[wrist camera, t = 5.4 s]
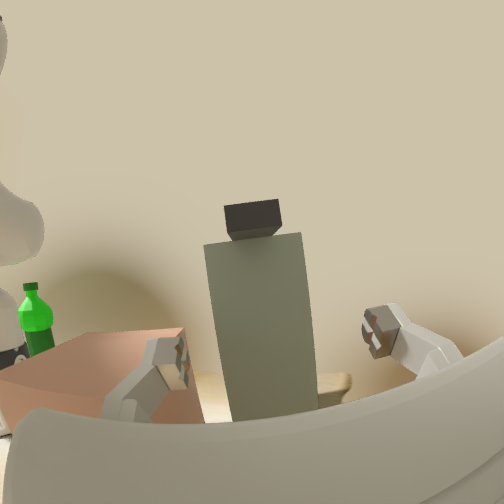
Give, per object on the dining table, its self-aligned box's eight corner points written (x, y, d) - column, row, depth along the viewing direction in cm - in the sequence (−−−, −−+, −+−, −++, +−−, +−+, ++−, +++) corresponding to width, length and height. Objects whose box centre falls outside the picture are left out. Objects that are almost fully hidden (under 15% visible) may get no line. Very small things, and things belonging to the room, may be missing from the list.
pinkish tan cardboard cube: (81, 533, 10) (-13, 375, 10) (128, 456, 26) (87, 332, 26) (201, 560, 10) (115, 399, 10) (215, 460, 26) (184, 327, 26)
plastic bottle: (54, 371, 55) (35, 282, 56) (75, 377, 52) (54, 280, 53) (28, 381, 45) (7, 285, 46) (48, 390, 43) (23, 283, 43)
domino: (227, 232, 20) (223, 204, 20) (237, 247, 42) (235, 234, 42) (282, 225, 20) (278, 197, 20) (263, 244, 42) (261, 230, 42)
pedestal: (240, 454, 27) (203, 244, 28) (241, 404, 41) (217, 250, 42) (319, 442, 27) (300, 232, 28) (300, 396, 41) (283, 241, 42)
